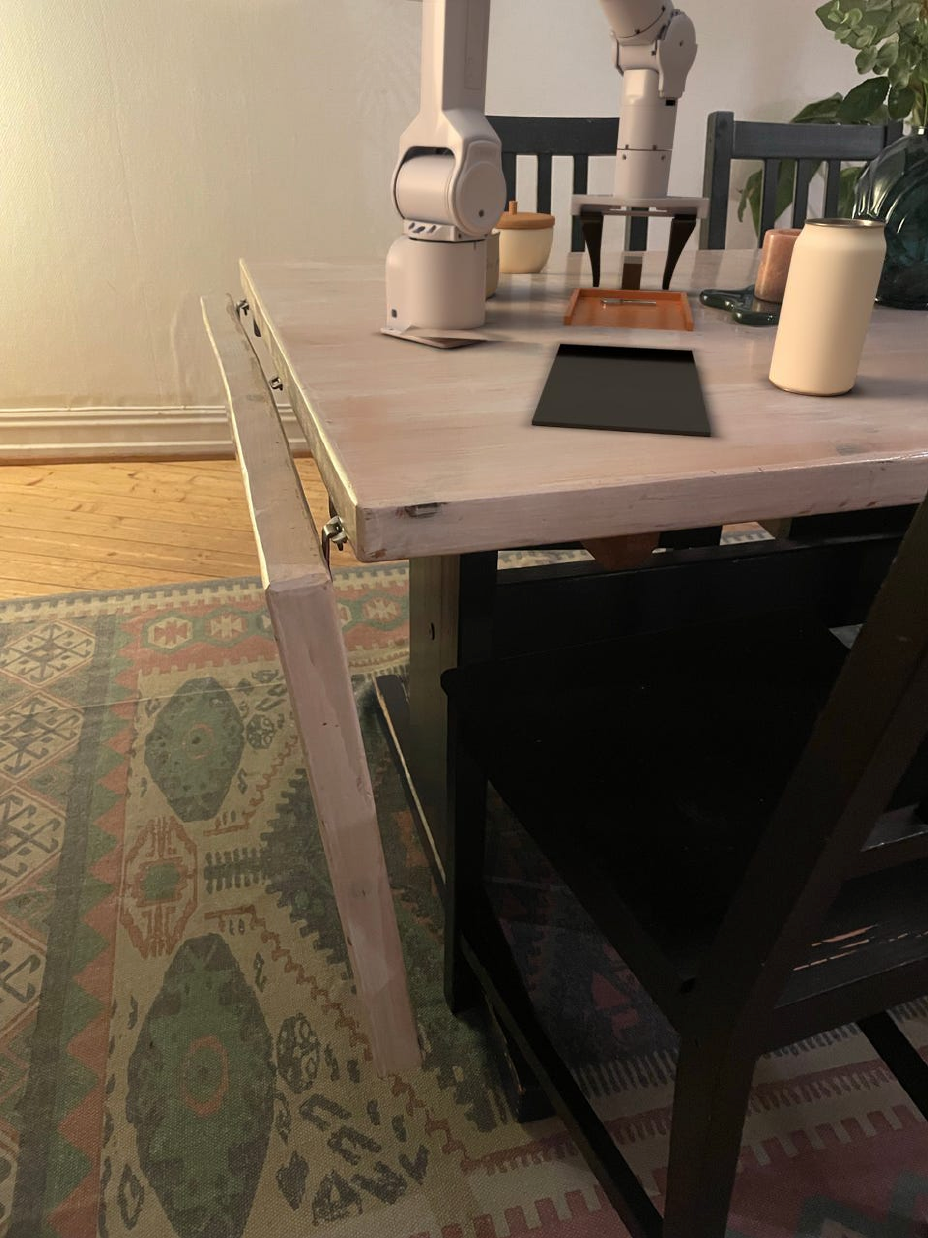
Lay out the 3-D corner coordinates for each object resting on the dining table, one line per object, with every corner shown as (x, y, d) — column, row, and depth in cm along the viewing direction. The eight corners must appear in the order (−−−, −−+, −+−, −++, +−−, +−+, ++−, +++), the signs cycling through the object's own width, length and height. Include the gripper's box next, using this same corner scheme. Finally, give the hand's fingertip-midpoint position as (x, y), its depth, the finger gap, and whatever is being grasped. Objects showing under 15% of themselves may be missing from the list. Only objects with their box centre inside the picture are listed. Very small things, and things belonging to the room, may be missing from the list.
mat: (531, 424, 59) (531, 420, 59) (561, 342, 81) (561, 339, 81) (710, 436, 57) (710, 432, 57) (691, 349, 80) (691, 346, 79)
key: (599, 305, 90) (600, 301, 90) (600, 301, 92) (601, 297, 92) (656, 307, 89) (656, 303, 89) (655, 303, 91) (656, 299, 91)
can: (755, 375, 71) (784, 217, 65) (830, 375, 72) (865, 217, 66) (787, 397, 66) (821, 226, 60) (868, 396, 66) (910, 226, 60)
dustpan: (562, 330, 82) (565, 285, 80) (577, 291, 101) (580, 254, 99) (691, 337, 80) (698, 290, 78) (682, 296, 99) (687, 258, 97)
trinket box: (565, 278, 115) (570, 200, 110) (526, 289, 107) (530, 206, 102) (496, 271, 120) (498, 196, 115) (454, 281, 112) (454, 201, 107)
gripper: (712, 149, 92) (694, 284, 99) (577, 147, 94) (568, 279, 101) (717, 151, 86) (697, 294, 93) (573, 149, 88) (563, 288, 95)
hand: (630, 287), depth 97 cm, fingers open, 7 cm apart
